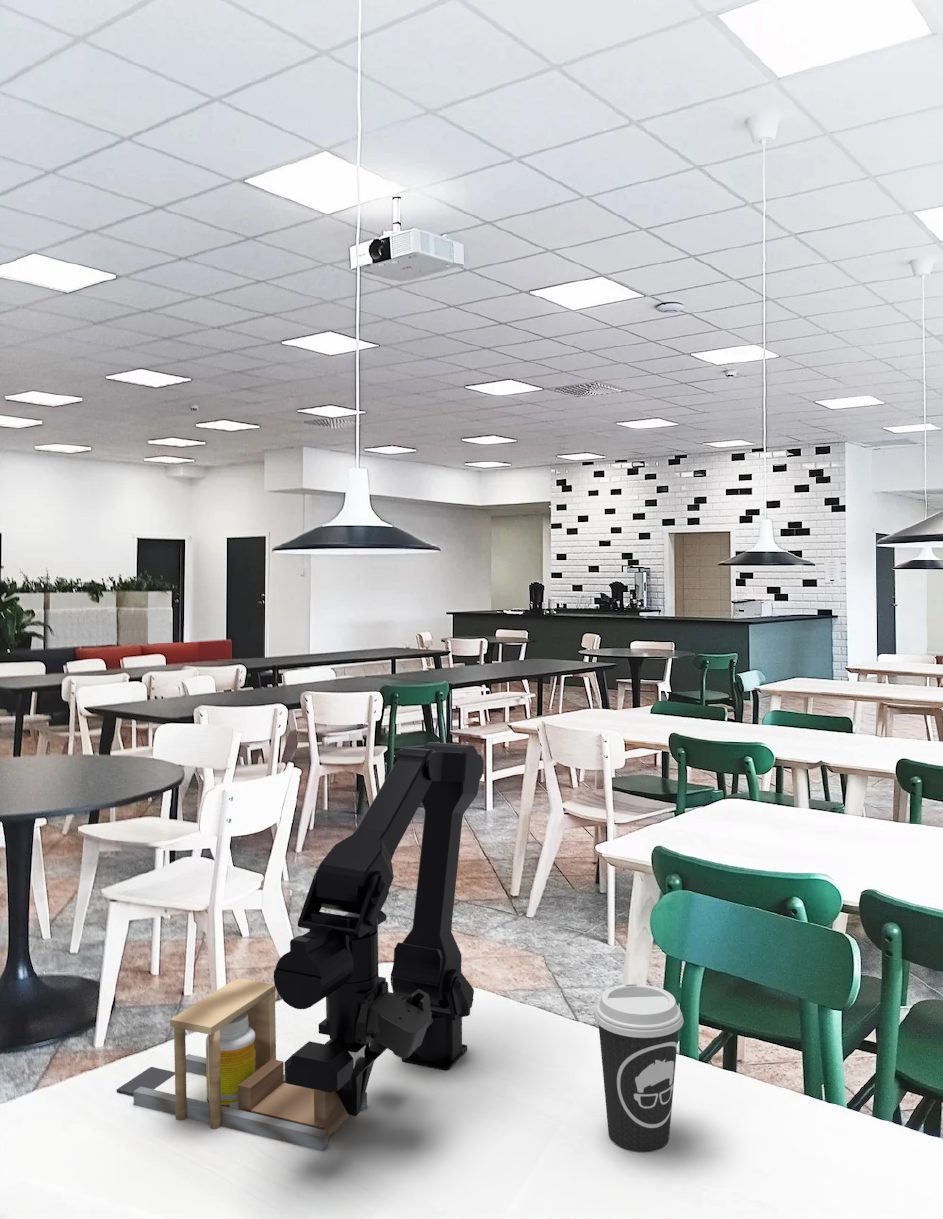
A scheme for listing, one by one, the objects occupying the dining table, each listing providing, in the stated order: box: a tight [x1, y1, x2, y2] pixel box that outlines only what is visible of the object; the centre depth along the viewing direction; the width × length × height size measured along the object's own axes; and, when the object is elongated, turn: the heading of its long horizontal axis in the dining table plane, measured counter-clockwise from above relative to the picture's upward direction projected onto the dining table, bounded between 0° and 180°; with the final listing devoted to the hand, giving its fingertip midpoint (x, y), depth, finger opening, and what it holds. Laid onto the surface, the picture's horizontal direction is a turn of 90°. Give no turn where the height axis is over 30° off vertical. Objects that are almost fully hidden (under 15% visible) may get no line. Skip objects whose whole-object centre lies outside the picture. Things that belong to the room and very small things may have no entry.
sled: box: [238, 1059, 351, 1138], centre depth 114 cm, size 11×7×5 cm, turn 67°
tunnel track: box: [133, 977, 368, 1152], centre depth 117 cm, size 25×12×12 cm, turn 67°
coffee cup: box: [593, 983, 684, 1153], centre depth 110 cm, size 10×10×15 cm
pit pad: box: [116, 1066, 175, 1097], centre depth 123 cm, size 4×6×1 cm, turn 157°
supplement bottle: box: [205, 1012, 256, 1109], centre depth 118 cm, size 6×6×10 cm
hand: (353, 1113), depth 112 cm, fingers closed
